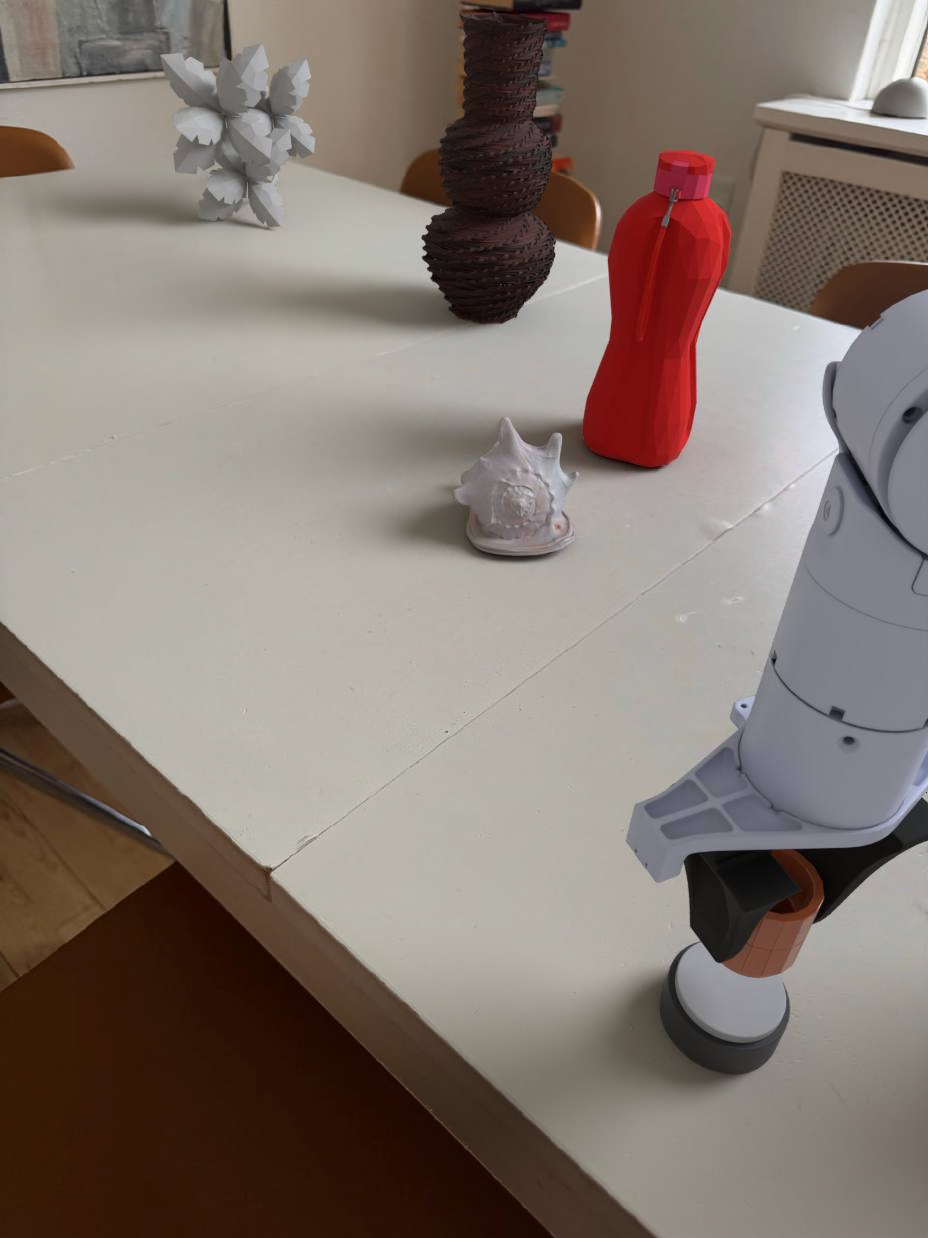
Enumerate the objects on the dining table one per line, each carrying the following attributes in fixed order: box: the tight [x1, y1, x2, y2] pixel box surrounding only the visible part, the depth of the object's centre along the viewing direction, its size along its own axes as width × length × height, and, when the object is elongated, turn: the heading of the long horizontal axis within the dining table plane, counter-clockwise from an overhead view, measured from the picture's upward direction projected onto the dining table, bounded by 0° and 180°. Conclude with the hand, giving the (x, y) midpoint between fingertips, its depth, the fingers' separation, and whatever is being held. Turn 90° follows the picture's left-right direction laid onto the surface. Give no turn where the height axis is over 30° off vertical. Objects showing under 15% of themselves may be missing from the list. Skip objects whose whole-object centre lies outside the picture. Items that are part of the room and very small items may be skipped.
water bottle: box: [581, 149, 732, 469], centre depth 81 cm, size 9×11×25 cm
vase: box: [420, 11, 557, 324], centre depth 106 cm, size 15×15×30 cm
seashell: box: [451, 416, 580, 556], centre depth 75 cm, size 10×12×9 cm
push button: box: [659, 940, 791, 1075], centre depth 43 cm, size 5×5×2 cm
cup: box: [721, 849, 824, 978], centre depth 39 cm, size 4×4×4 cm
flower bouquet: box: [159, 42, 316, 228], centre depth 137 cm, size 17×34×21 cm, turn 160°
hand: (756, 922), depth 40 cm, fingers closed on cup, 4 cm apart
